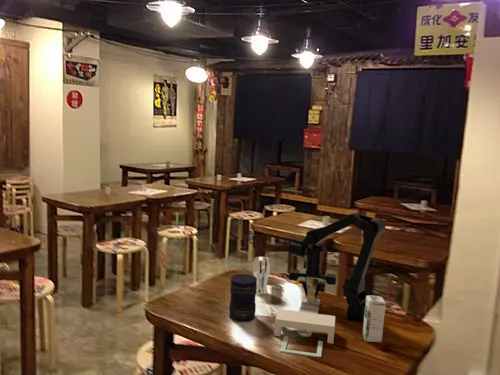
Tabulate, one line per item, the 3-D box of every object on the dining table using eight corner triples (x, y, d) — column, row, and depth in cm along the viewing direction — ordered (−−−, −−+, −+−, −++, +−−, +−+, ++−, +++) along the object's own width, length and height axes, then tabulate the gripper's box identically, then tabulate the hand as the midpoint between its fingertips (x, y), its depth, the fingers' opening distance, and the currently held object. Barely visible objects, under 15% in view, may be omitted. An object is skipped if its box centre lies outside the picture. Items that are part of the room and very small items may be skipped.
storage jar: (260, 319, 176) (262, 280, 174) (237, 324, 171) (239, 284, 169) (246, 309, 185) (248, 272, 183) (224, 314, 179) (225, 276, 177)
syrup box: (361, 334, 168) (365, 294, 166) (378, 335, 168) (382, 295, 166) (365, 341, 162) (368, 301, 160) (382, 342, 162) (386, 302, 160)
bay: (322, 342, 160) (322, 341, 160) (321, 357, 150) (321, 356, 150) (284, 337, 163) (284, 335, 163) (279, 351, 152) (280, 350, 152)
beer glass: (256, 296, 199) (257, 261, 197) (249, 290, 206) (251, 256, 203) (271, 294, 202) (273, 260, 200) (264, 289, 208) (265, 255, 206)
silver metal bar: (302, 301, 196) (303, 283, 195) (319, 303, 195) (320, 285, 194) (296, 325, 173) (297, 305, 172) (315, 327, 172) (317, 307, 171)
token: (312, 332, 168) (312, 328, 168) (311, 338, 163) (311, 334, 163) (298, 330, 169) (298, 326, 169) (296, 336, 164) (296, 332, 164)
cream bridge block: (334, 332, 169) (335, 316, 168) (333, 343, 160) (334, 326, 159) (278, 324, 172) (278, 309, 172) (274, 335, 164) (275, 319, 163)
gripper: (337, 257, 197) (335, 293, 199) (292, 252, 200) (290, 288, 202) (337, 264, 186) (334, 303, 188) (289, 259, 189) (287, 297, 192)
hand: (311, 297), depth 193 cm, fingers closed on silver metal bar, 3 cm apart
